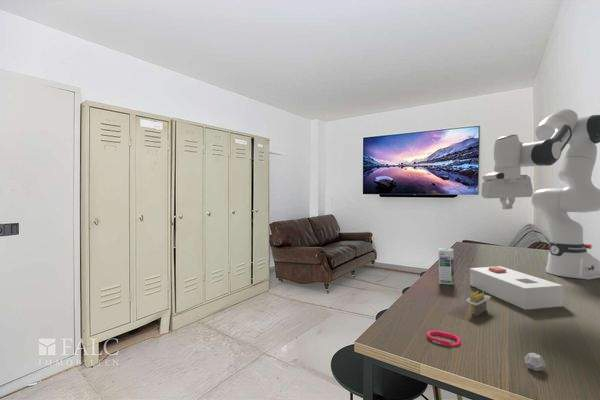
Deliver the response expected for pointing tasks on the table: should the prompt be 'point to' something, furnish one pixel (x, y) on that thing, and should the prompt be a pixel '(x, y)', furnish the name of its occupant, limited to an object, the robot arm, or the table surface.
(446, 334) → the fitness band
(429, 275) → the table surface
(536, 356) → the grey irregular lump
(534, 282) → the gray rectangular block
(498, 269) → the red plug
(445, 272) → the syrup box
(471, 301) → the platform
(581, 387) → the table surface
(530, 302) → the block
